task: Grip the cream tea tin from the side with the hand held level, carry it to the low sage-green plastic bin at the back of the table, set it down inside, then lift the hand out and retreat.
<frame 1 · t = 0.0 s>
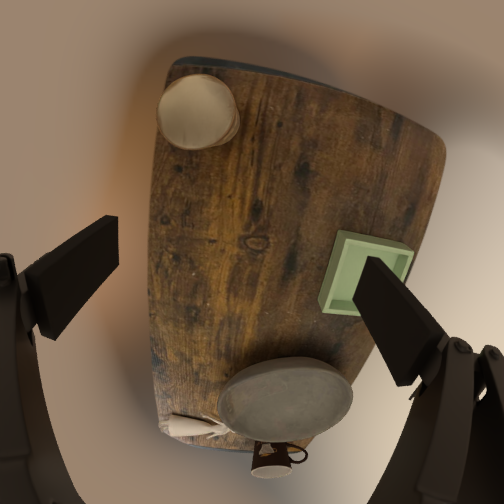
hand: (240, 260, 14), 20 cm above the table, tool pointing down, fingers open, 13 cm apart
bin: (361, 271, 36), on the table
woman figurine: (202, 420, 50), on the table
coffee mug: (276, 435, 53), on the table
bowl: (282, 377, 44), on the table
tea tin: (213, 120, 29), on the table
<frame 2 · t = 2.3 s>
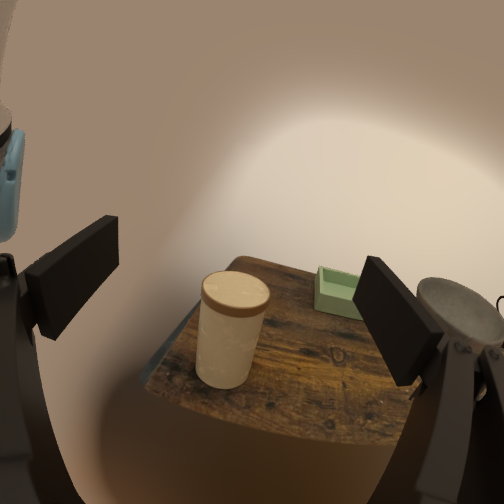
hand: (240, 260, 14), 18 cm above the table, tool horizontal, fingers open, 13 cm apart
bin: (341, 300, 47), on the table
coffee mug: (501, 339, 40), on the table
bowl: (446, 341, 39), on the table
tea tin: (222, 368, 29), on the table
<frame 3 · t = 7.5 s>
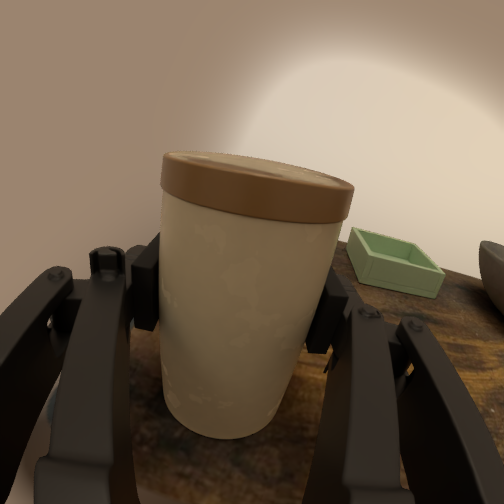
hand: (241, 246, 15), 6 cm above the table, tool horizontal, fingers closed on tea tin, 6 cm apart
bin: (388, 272, 32), on the table
tea tin: (221, 391, 13), on the table, touching gripper
when the fingers open (7 cm above the table, at t = 16.7 s): tea tin stays where it is, resting on bin.
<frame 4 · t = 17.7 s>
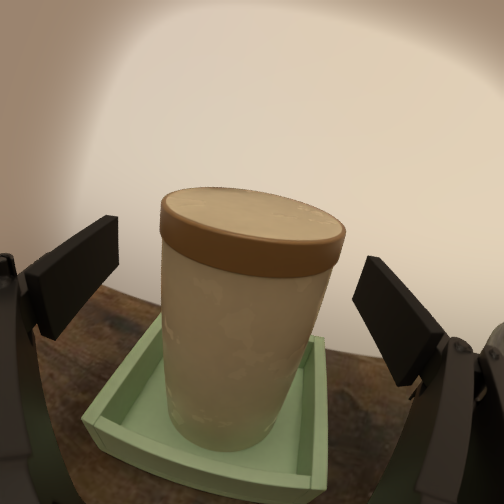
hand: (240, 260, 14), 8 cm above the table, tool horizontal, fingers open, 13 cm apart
bin: (220, 413, 14), on the table
tea tin: (222, 406, 13), point 1 cm above the table, touching bin
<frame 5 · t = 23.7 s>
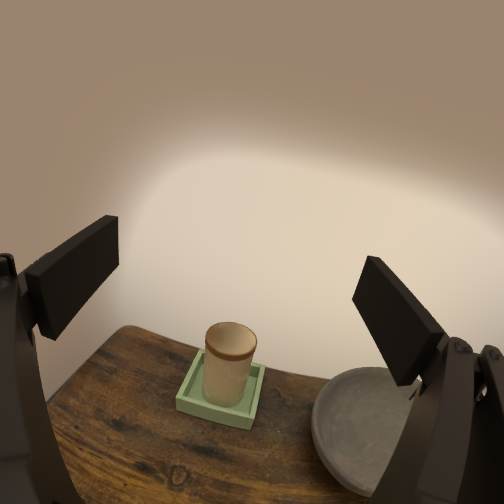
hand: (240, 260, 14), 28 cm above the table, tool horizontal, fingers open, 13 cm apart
bin: (221, 394, 36), on the table
bowl: (364, 450, 29), on the table
tea tin: (222, 391, 36), point 1 cm above the table, touching bin
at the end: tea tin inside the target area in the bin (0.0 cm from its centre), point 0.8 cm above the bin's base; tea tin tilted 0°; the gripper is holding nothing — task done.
